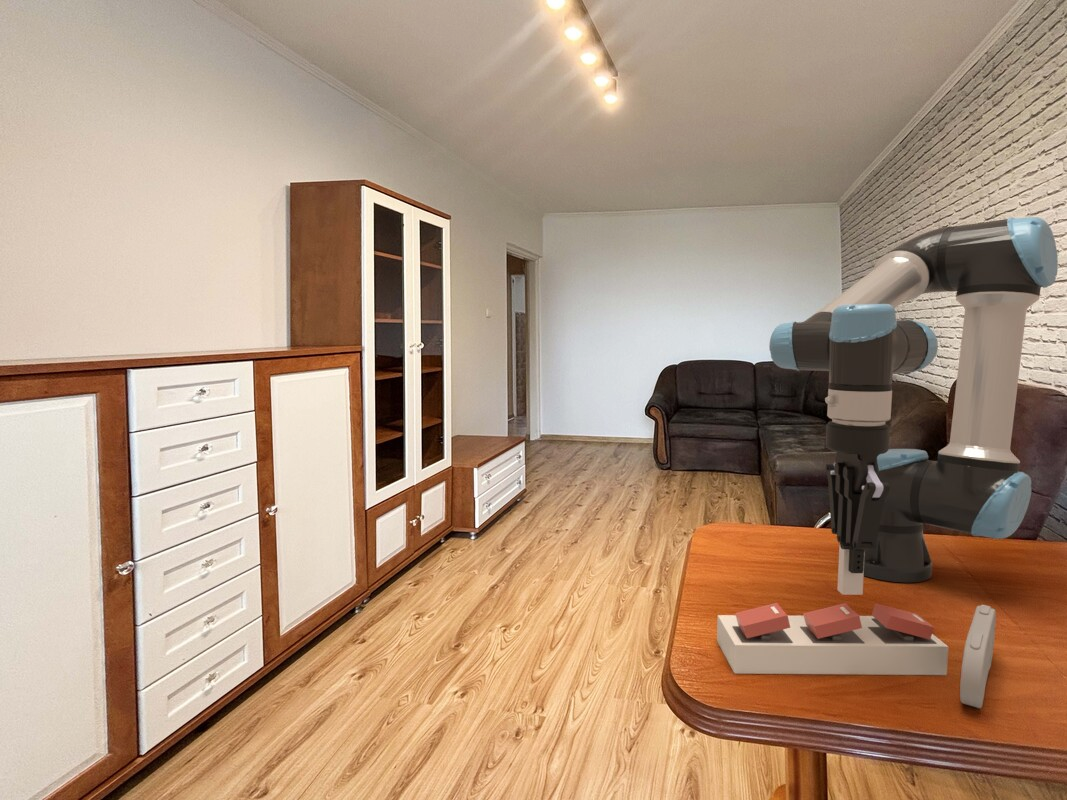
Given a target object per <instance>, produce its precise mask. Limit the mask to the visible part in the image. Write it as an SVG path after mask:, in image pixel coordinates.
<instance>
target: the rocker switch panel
mask: <svg viewBox="0 0 1067 800" xmlns="http://www.w3.org/2000/svg"><path fill="white" fill-rule="evenodd" d="M859 617H860V621H861V626H862V628H860V629H856V630H852V631H848V632H844V633H840V634H836V635H832V636H828V637H823V638H819V639H818V638H817V637H816V636H815V635H814V634H813V633H812V631H811V630H810V629H809V628H808V627H807V626H806V623H805V619H804V615H788V619H789V624H790V628H787V629H783V630H779V631H775V632H771V633H767V634H763V635H759V636H755V637H750V638H746V636H745V635H744V633H743V632H742V630H741V629H740V627H739V625H738V622H737V619H736V615H735V614H734V615H733V614H732V615H731V614H725V615H724V614H723V615H721V614H719V615H717V622H716V623H717V624H716V625H717V629H716V631H717V632H716V641H717V643H718V646H719V647H720V649H721V651H722V654H723V655H724V657H725V658H726V661H727V662H728V664H729V666H730V668H731V669H732V672H733V673H734V674H743V675H744V674H746V675H748V674H749V675H751V674H752V675H754V674H758V675H759V674H760V675H761V674H763V675H768V674H769V675H775V674H776V675H872V676H873V675H875V676H876V675H877V676H880V675H881V676H883V675H885V676H886V675H888V676H889V675H890V676H900V675H901V676H947V675H948V673H947V672H948V658H949V646H948V645H947V644H946V643H944V641H942V640H941V639H939V638H938V637H937V636H936V635H935V634H933V633H932V635H931V638H930V639H926V638H922V637H918V636H915V635H911V634H907V633H903V632H899V631H895V630H892V629H888V628H886V627H885V626H884V625H882V624H881V623H880V622H879V621H878V620H877V619H876V618H874V617H873V616H872V615H859Z"/></svg>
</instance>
